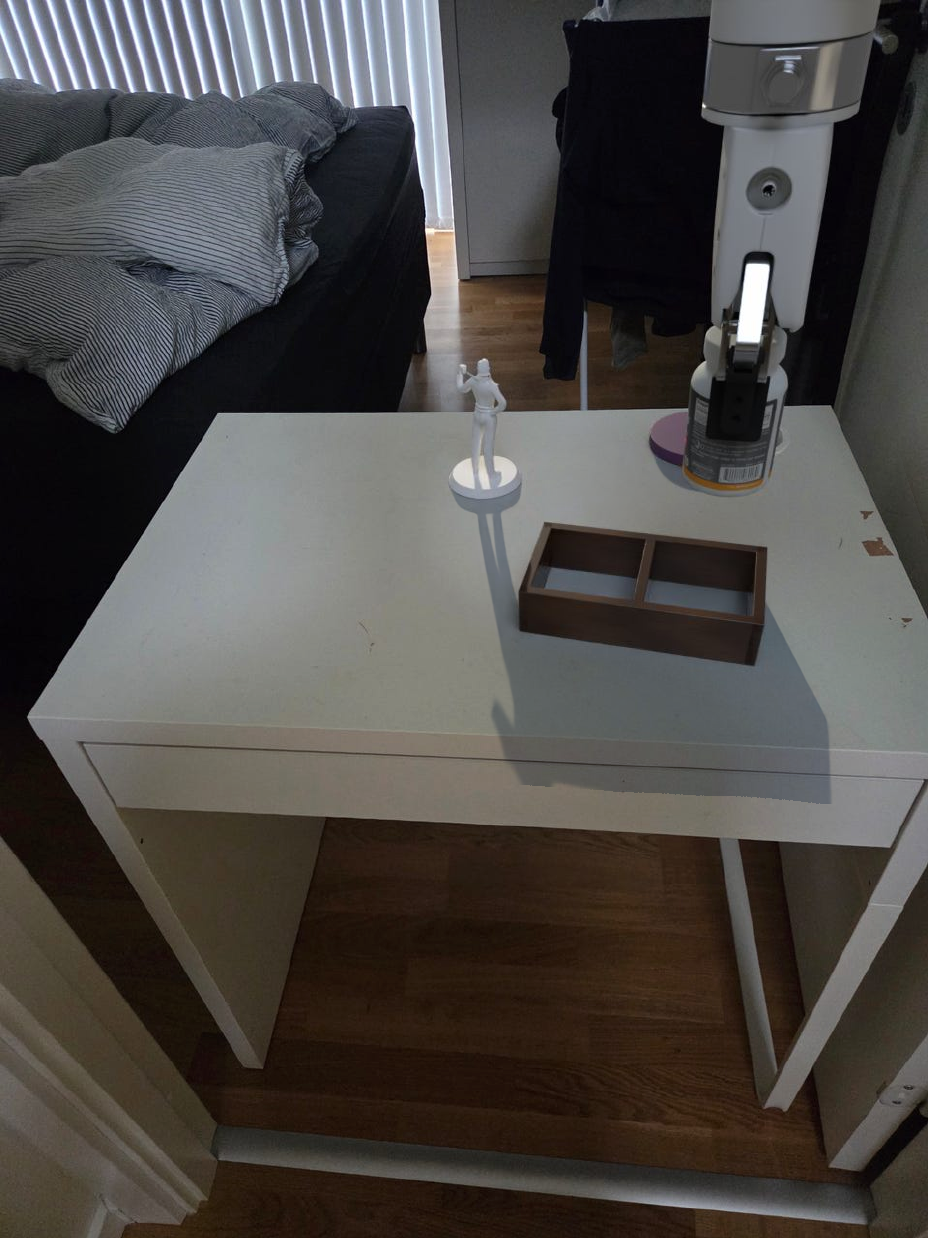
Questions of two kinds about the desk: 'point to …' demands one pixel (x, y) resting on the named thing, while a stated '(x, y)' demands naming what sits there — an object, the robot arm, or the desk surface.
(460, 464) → the figurine
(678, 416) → the disc
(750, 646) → the rack
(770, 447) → the pill bottle
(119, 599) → the desk surface
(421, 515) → the desk surface
